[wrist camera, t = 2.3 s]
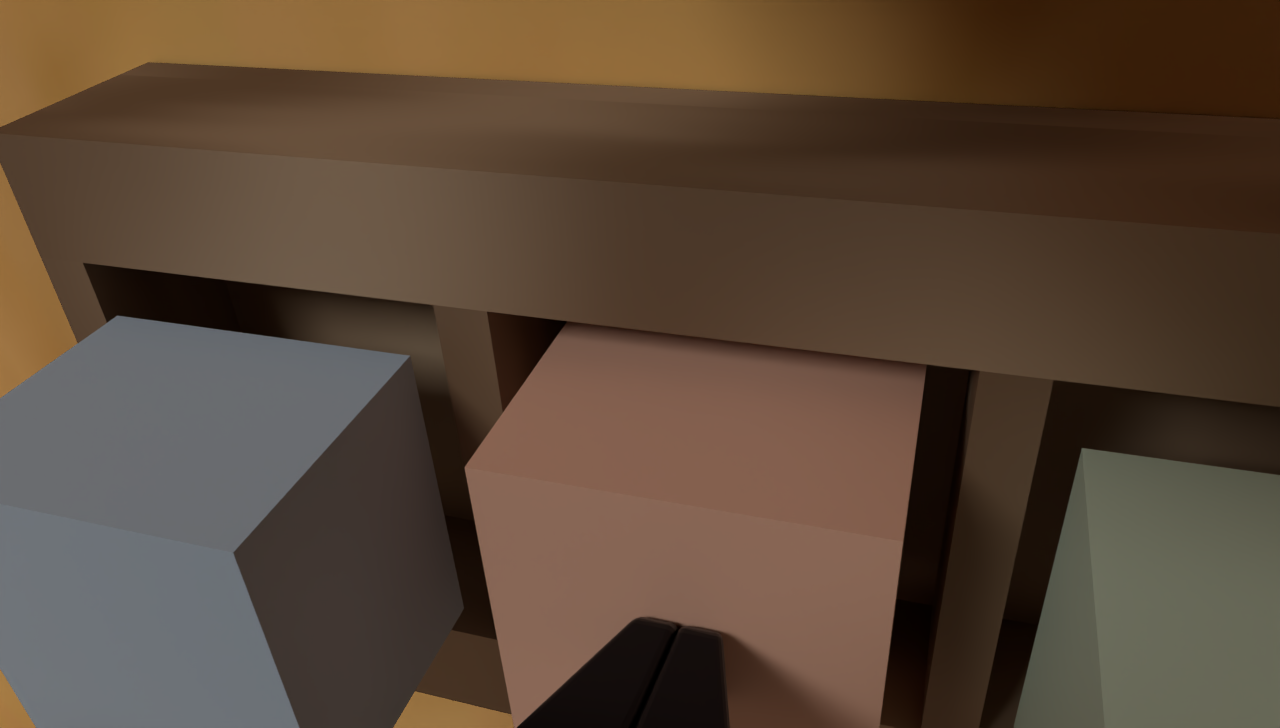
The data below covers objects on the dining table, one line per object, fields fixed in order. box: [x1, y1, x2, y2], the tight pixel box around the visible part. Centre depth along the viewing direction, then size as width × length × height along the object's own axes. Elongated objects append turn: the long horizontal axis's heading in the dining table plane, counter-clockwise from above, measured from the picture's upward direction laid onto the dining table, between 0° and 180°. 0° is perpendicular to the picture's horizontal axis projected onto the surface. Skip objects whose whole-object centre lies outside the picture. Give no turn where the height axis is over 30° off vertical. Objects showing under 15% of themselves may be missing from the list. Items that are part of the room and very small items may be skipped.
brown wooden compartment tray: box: [0, 62, 1280, 728], centre depth 12 cm, size 16×8×2 cm, turn 93°
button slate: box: [0, 316, 464, 728], centre depth 11 cm, size 4×4×3 cm
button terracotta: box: [465, 321, 927, 728], centre depth 11 cm, size 4×4×3 cm
